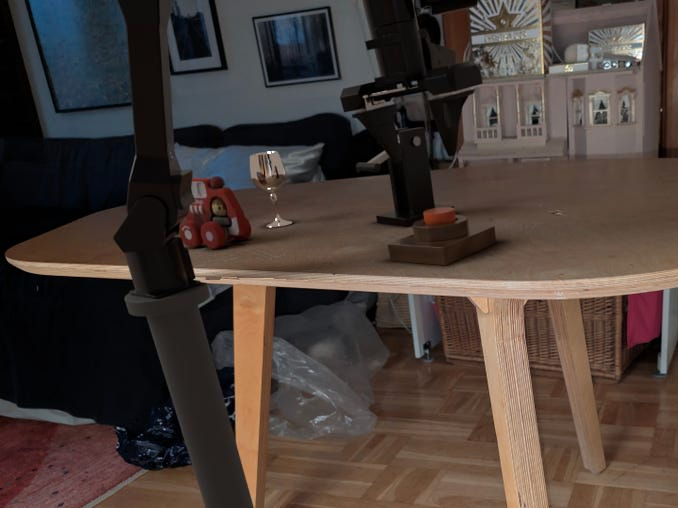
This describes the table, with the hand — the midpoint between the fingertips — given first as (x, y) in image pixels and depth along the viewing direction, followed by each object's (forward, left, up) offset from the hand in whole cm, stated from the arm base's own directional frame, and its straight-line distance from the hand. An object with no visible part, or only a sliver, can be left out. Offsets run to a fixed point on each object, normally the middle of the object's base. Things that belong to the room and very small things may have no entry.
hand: (424, 159), depth 89 cm
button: (-1, -2, -8) cm, 8 cm away
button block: (-1, -2, -12) cm, 12 cm away
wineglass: (+8, +41, -12) cm, 43 cm away
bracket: (+16, +17, -12) cm, 25 cm away
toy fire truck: (-5, +40, -12) cm, 42 cm away
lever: (+13, +17, -2) cm, 21 cm away
